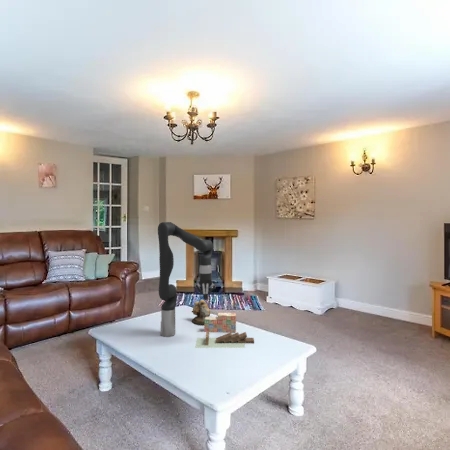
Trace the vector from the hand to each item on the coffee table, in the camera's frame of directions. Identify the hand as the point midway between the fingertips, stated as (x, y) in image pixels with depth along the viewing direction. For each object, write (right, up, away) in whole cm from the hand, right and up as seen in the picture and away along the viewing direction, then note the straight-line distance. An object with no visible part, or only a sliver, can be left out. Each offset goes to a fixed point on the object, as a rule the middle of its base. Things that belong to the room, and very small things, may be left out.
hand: (205, 299), depth 203 cm
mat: (+9, -27, 0) cm, 28 cm away
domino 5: (+20, -26, +1) cm, 33 cm away
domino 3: (+11, -26, +1) cm, 28 cm away
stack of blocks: (+9, -27, +20) cm, 35 cm away
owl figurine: (-6, -26, +40) cm, 48 cm away
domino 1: (+1, -24, -5) cm, 25 cm away
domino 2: (+7, -26, +1) cm, 27 cm away
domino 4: (+16, -26, +1) cm, 30 cm away
